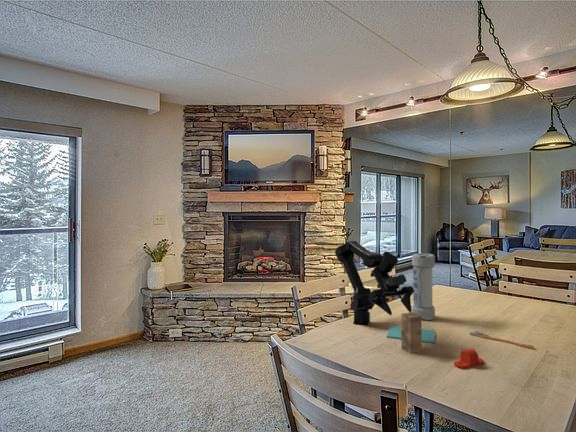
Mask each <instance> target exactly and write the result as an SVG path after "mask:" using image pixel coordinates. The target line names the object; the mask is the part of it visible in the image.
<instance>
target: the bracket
mask: <svg viewBox="0 0 576 432" xmlns="http://www.w3.org/2000/svg"><path fill="white" fill-rule="evenodd" d="M484 364H485V361H484V359H483V358H481V357H479V354H478V352H477V351H476V350H475V349H474V348H470V349H465V350H461V352H460V354H459V360H456V361H454V363H453V365H454V367H455V368H456V367H457V369H459V370H467V369H470V368H474V367H478V366H482V365H484Z"/></svg>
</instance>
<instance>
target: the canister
mask: <svg viewBox="0 0 576 432" xmlns="http://www.w3.org/2000/svg"><path fill="white" fill-rule="evenodd" d="M411 258H412V259H411V265H412V267H413V269H412V275H413V276H412V279H413V281H412V287H413V289H414V292H413V294H412V298H413V299H412V300H413V305H411V308H412V312H413V313H416V314H418V315H421V321H427V322H428V321H433V320H435V318H436V317H435V316H436V309H435V307H434V305H433V269H434V267H435V266H436V263H435V262H436V257H435V254H432V253H420V252H419V253H412V256H411Z"/></svg>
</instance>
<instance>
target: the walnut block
mask: <svg viewBox="0 0 576 432" xmlns="http://www.w3.org/2000/svg"><path fill="white" fill-rule="evenodd" d="M400 317H401V318H400V326H401V339H400V341H401V344H400V345H401V347H400V348H401V349H402V350H404V351H405V352H407V353H409V354H413V353H419V352H422V351H423V349H422V348H423V347H422V345H423V344H422V343H423V342H422V329H423V328H422V327H423V326H422V320H421V315H418V314H416V313H413V312H404V313H401V314H400Z"/></svg>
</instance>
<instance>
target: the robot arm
mask: <svg viewBox="0 0 576 432" xmlns="http://www.w3.org/2000/svg"><path fill="white" fill-rule="evenodd" d="M334 252H335V256H336V258H337V261H339V262H340V263H341V264H342V265H343V266H344V269H345V271H346V274H347V277H348V279H349V281H350V283H351V287H352V289H353V290H352V291H353V295H352V298H353V299H352V301H351V303H349V306H350V309H351V310H352V311H353V322H352V324H354V325H363V326H368V325H369V324H370V323H371V312H370V310H373V306H374V305H376V306H377V307H378V308H380V309H382V310H383V311H384V312H385V313H386V314H388V315H389V316H392V315H393V312H392V310H391V308H390V306H389V304H388V301H387V298H389V297H391V298H392V297H398V298H399V299H400V302H401V303H402V305H403V306H404V307H405V308H406V310H407V311H408V313H410V312H412V305H411V304H412V302H411V296H413V292H414V289H413V285H405V286H403V287H401V288H400V286H401V285H404V284H405V283H406V282H407V278H406V276H405V275H404V274H403V273H402V274H398V275H397V276H396V275H395V276H390V274H389V273H391V272H392V271H393V269H394V268H395V267H396V266H397V264H398V263H399V259H398V258H397V256H395V255H394V254H392V253H390V251H384V252H383V254H381V253H379V252H375V251H370V250H368V249H367V248H366V247H365V246H363V245H362V244H360V243H358V241H356V240H351V241H350V240H349V241H346V242H345V243H344V244H341V245H339V246H337V248H336V249H335V251H334ZM355 256H357V257H358V258H360V260H361V259H362V264H364V266H365V267H366V268H367V269H372V268H373V269H372V270H371V271H370V278H371V277H372V278H373V277H374V278H375V280H376V283H377V285H376V286H377V287H376V288H377V289H373V290H372V291H371V289H370V288H369V287H365V286H364V283H363V281H362V279H361V276H360V274H359V271H358V270H357V267H356V265H355V262H354V258H355ZM399 288H400V290H399Z"/></svg>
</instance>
